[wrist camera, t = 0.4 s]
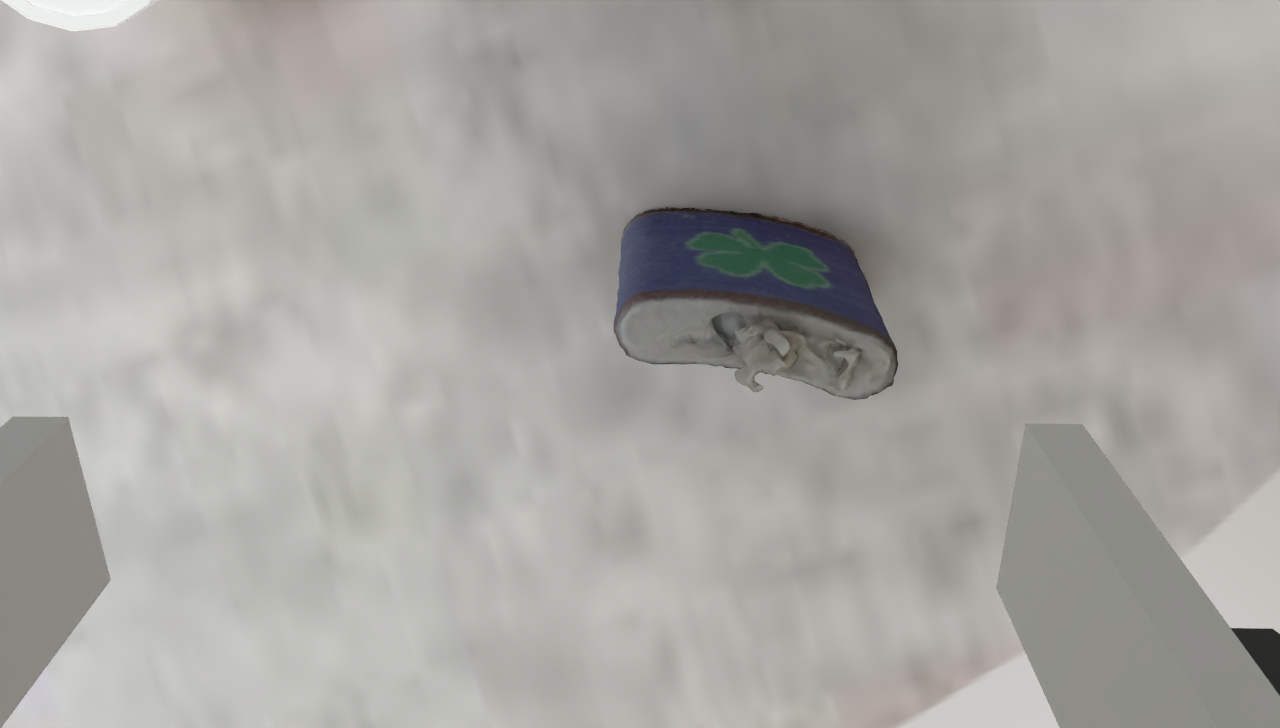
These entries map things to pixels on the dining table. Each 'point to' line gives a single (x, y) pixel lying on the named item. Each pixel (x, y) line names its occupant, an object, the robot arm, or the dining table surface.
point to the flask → (750, 301)
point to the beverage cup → (80, 12)
